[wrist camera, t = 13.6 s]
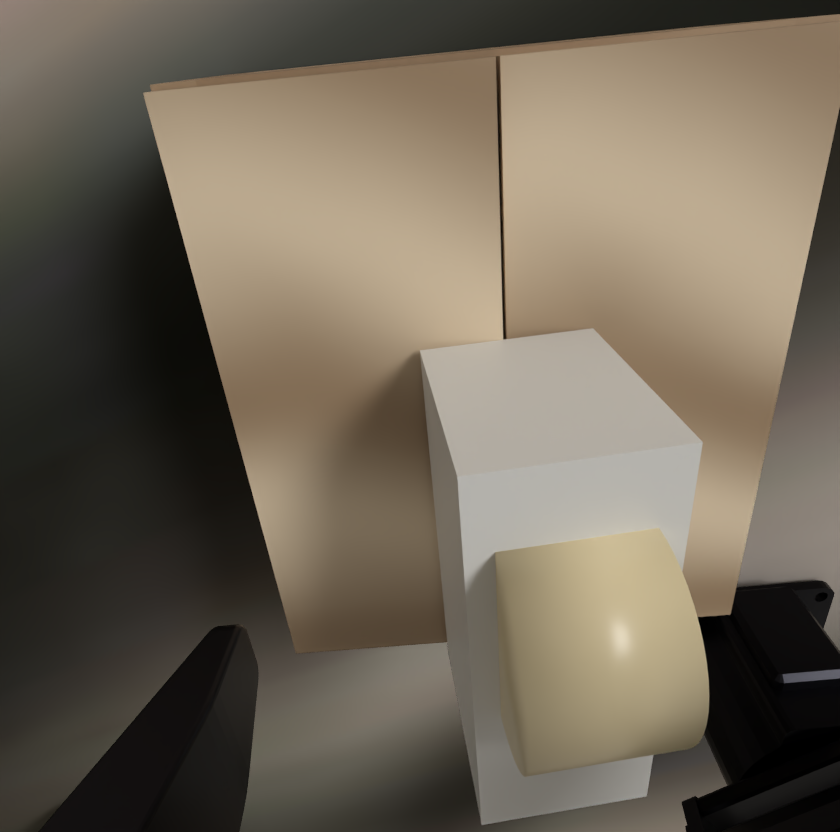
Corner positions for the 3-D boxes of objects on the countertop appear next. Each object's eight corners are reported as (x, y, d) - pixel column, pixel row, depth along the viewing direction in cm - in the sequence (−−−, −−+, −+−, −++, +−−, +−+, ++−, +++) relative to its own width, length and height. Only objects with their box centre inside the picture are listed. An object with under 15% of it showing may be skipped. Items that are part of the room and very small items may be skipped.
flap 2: (722, 600, 18) (730, 614, 17) (510, 617, 18) (513, 630, 18) (840, 20, 11) (858, 19, 10) (496, 56, 11) (500, 56, 11)
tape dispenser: (577, 632, 18) (692, 903, 12) (448, 652, 17) (503, 938, 12) (593, 327, 13) (788, 531, 7) (419, 350, 13) (486, 576, 7)
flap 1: (508, 623, 18) (511, 637, 17) (298, 639, 18) (295, 653, 17) (492, 56, 11) (495, 56, 10) (153, 90, 11) (143, 93, 11)
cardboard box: (648, 478, 23) (722, 601, 18) (319, 508, 23) (297, 640, 18) (698, 26, 16) (843, 13, 11) (228, 75, 16) (149, 85, 11)
